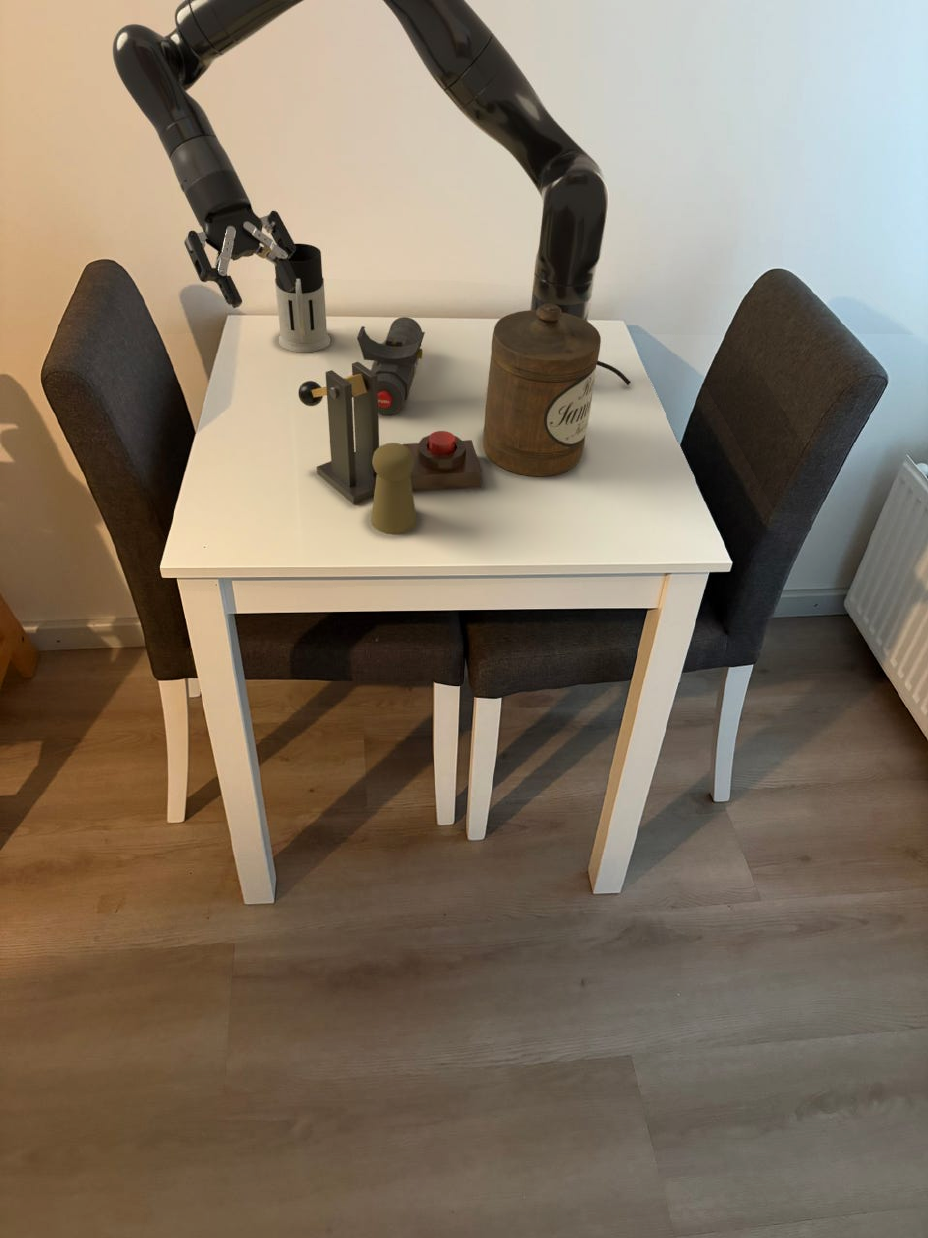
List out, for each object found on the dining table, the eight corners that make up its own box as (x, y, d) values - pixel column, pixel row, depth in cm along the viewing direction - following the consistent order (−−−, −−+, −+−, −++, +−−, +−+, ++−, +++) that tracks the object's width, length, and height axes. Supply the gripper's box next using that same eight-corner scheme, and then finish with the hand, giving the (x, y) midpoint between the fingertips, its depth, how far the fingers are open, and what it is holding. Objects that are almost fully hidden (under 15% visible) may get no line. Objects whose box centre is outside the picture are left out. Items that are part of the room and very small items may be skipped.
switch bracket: (317, 473, 124) (308, 366, 113) (358, 457, 128) (354, 351, 116) (353, 505, 119) (348, 396, 108) (395, 487, 123) (395, 380, 112)
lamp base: (470, 455, 129) (472, 428, 126) (480, 487, 124) (482, 460, 121) (402, 459, 128) (402, 432, 125) (409, 492, 122) (409, 464, 119)
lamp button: (452, 440, 124) (453, 430, 123) (456, 455, 122) (457, 444, 121) (427, 442, 124) (427, 431, 123) (430, 456, 121) (431, 445, 120)
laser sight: (434, 352, 151) (435, 295, 145) (415, 422, 135) (416, 361, 128) (377, 347, 152) (376, 290, 145) (352, 415, 136) (349, 355, 129)
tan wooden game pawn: (370, 506, 119) (368, 436, 112) (415, 506, 120) (416, 435, 112) (371, 534, 115) (368, 463, 107) (417, 534, 115) (418, 462, 108)
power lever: (299, 410, 124) (290, 386, 123) (319, 402, 126) (311, 379, 125) (350, 402, 112) (341, 375, 111) (372, 394, 114) (364, 368, 113)
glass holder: (329, 328, 156) (324, 241, 146) (331, 367, 146) (326, 277, 136) (278, 328, 155) (269, 241, 145) (277, 368, 145) (267, 278, 135)
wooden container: (571, 486, 125) (594, 339, 110) (470, 464, 128) (479, 318, 112) (591, 433, 135) (615, 292, 120) (497, 414, 138) (509, 273, 123)
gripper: (168, 178, 113) (227, 299, 115) (264, 158, 120) (319, 272, 122) (155, 208, 119) (212, 322, 122) (248, 186, 126) (299, 295, 129)
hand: (265, 297), depth 122 cm, fingers open, 8 cm apart
